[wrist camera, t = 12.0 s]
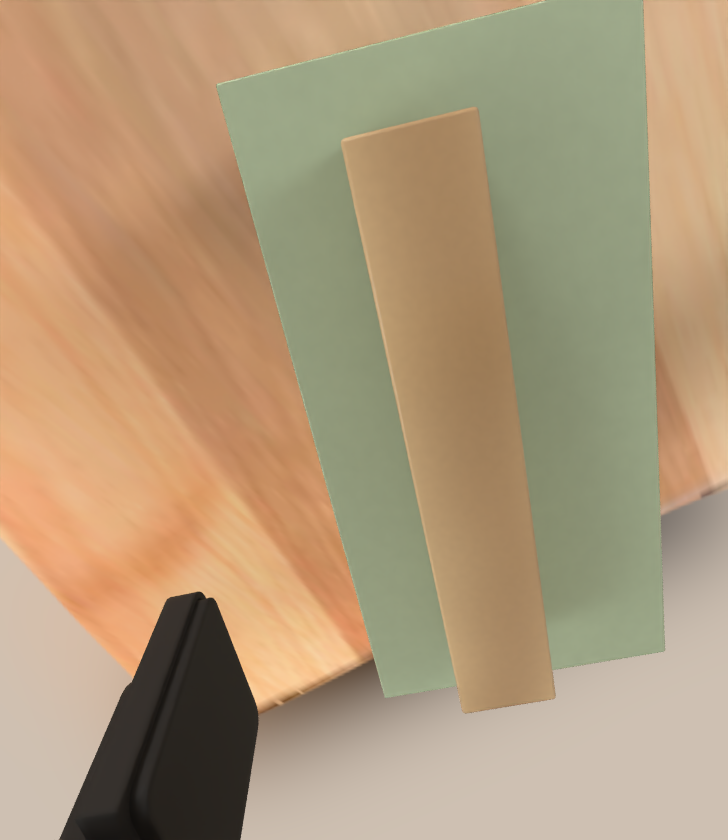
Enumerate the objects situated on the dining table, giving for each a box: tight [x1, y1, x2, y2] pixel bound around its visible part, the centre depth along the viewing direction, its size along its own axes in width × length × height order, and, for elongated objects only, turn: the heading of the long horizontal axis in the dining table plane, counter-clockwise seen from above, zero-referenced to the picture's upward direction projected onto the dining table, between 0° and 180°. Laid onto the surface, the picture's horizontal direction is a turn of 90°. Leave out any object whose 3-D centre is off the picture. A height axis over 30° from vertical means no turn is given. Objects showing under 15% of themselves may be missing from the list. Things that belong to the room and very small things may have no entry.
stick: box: [341, 107, 556, 713], centre depth 16 cm, size 3×16×3 cm, turn 12°
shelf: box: [216, 0, 665, 698], centre depth 23 cm, size 10×20×12 cm, turn 12°
